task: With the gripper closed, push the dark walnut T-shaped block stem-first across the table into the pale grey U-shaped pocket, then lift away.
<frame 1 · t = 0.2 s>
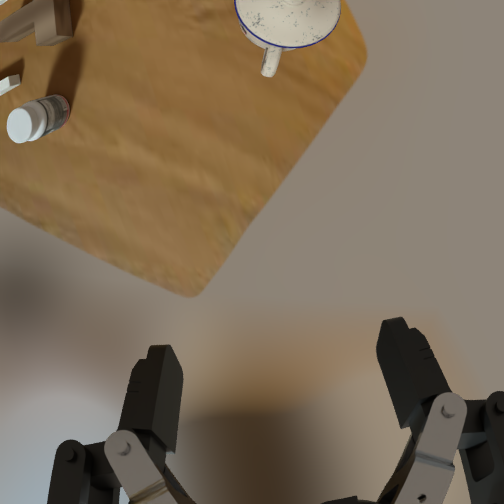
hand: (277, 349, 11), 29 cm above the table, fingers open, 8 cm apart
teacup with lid: (274, 28, 28), on the table
pill bottle: (56, 111, 31), on the table
t block: (59, 8, 23), on the table
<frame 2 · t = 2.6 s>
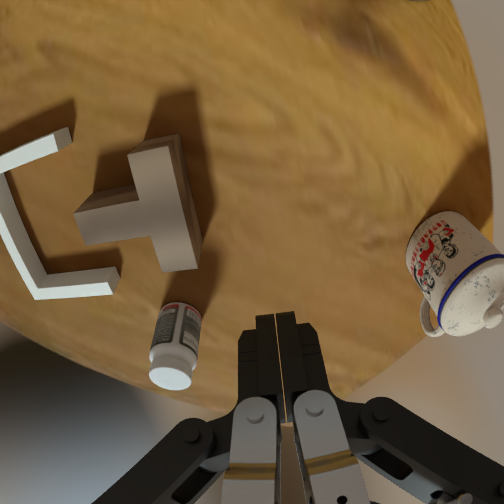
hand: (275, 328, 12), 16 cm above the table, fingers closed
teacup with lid: (431, 255, 30), on the table
pocket: (53, 217, 26), on the table
pill bottle: (180, 315, 33), on the table
t block: (174, 193, 25), on the table
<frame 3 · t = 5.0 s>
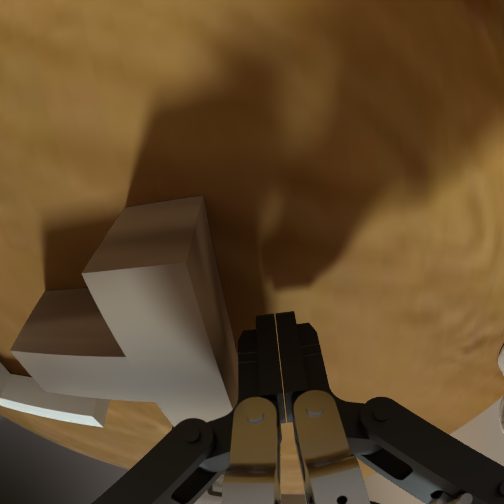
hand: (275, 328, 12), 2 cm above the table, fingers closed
pill bottle: (201, 432, 21), on the table
t block: (191, 305, 13), on the table, touching gripper
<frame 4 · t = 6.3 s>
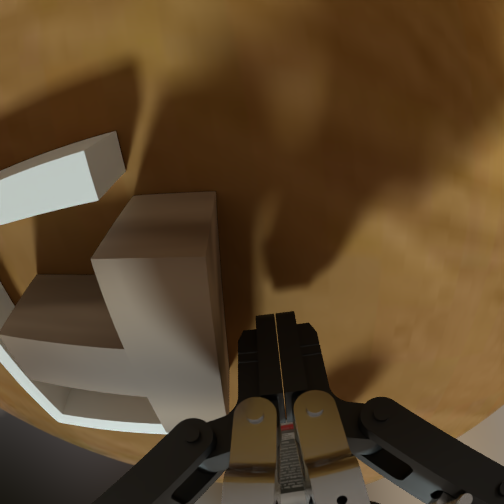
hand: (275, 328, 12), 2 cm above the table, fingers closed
pocket: (79, 315, 14), on the table
pill bottle: (290, 427, 21), on the table
t block: (188, 301, 13), on the table, touching gripper
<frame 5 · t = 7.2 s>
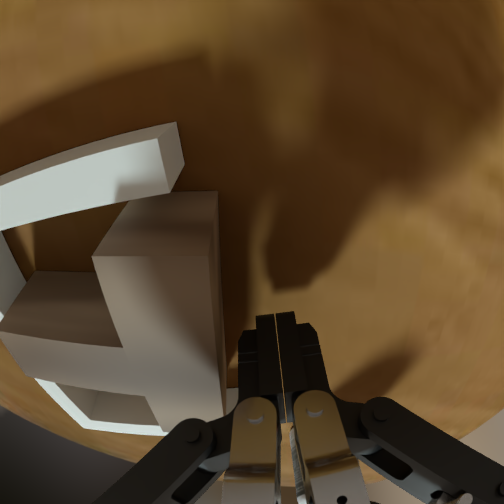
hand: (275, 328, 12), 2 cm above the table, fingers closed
pocket: (116, 317, 14), on the table
pill bottle: (319, 424, 21), on the table
t block: (187, 301, 13), on the table, touching gripper
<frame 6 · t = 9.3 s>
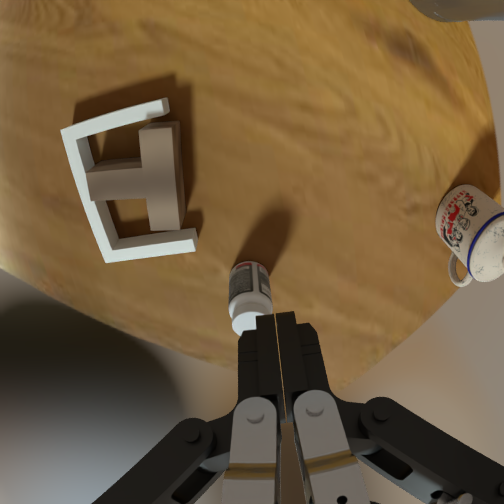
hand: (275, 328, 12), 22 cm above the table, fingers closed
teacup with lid: (454, 222, 35), on the table
pocket: (137, 181, 31), on the table
pill bottle: (249, 275, 38), on the table
t block: (168, 168, 31), on the table
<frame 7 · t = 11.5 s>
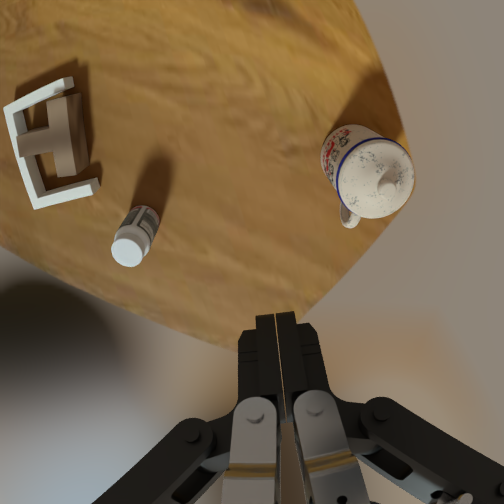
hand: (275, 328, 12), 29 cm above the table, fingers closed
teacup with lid: (348, 165, 38), on the table
pocket: (55, 142, 34), on the table
pill bottle: (144, 219, 42), on the table
t block: (75, 130, 34), on the table
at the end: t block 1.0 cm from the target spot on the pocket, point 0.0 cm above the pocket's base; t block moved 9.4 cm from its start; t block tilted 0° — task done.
